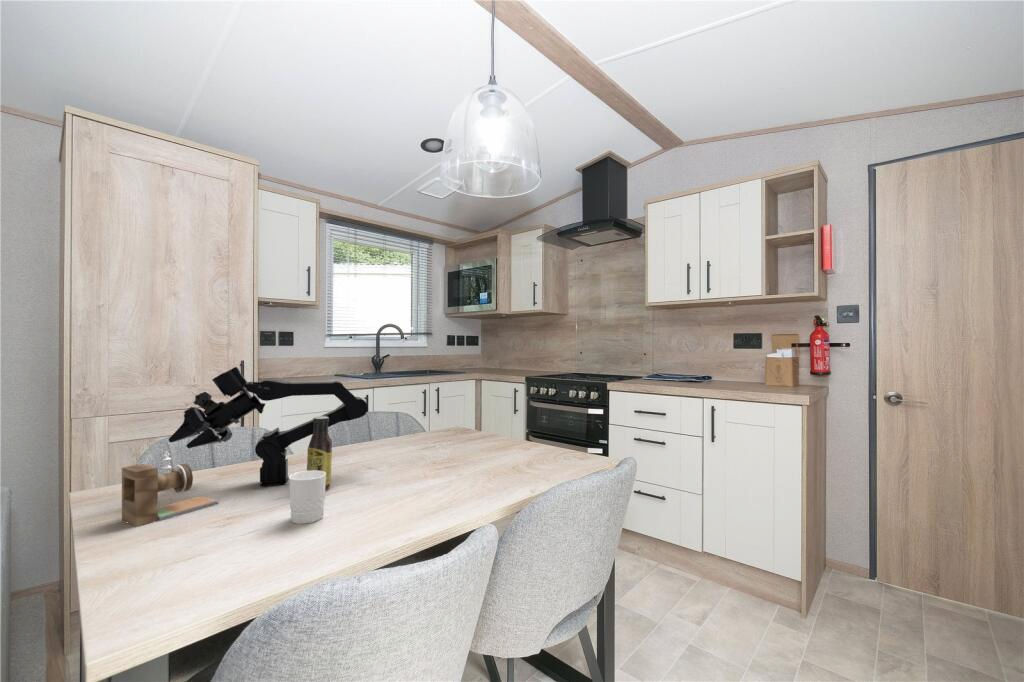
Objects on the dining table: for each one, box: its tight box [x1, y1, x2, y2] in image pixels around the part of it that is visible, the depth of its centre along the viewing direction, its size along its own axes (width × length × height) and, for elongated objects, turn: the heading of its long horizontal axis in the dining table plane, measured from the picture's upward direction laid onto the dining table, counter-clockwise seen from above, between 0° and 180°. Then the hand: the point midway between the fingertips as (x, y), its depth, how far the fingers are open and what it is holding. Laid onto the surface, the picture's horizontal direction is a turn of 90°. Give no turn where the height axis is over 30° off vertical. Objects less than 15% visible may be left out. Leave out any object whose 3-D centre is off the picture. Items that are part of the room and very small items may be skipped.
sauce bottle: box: [306, 415, 333, 491], centre depth 129 cm, size 6×6×20 cm
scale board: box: [158, 495, 219, 521], centre depth 114 cm, size 13×8×1 cm, turn 151°
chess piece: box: [161, 451, 172, 474], centre depth 130 cm, size 5×5×10 cm
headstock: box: [121, 463, 159, 527], centre depth 106 cm, size 4×7×12 cm, turn 61°
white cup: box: [288, 470, 326, 525], centre depth 108 cm, size 8×8×10 cm
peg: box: [158, 463, 194, 493], centre depth 111 cm, size 8×6×6 cm
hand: (178, 444), depth 126 cm, fingers open, 9 cm apart
